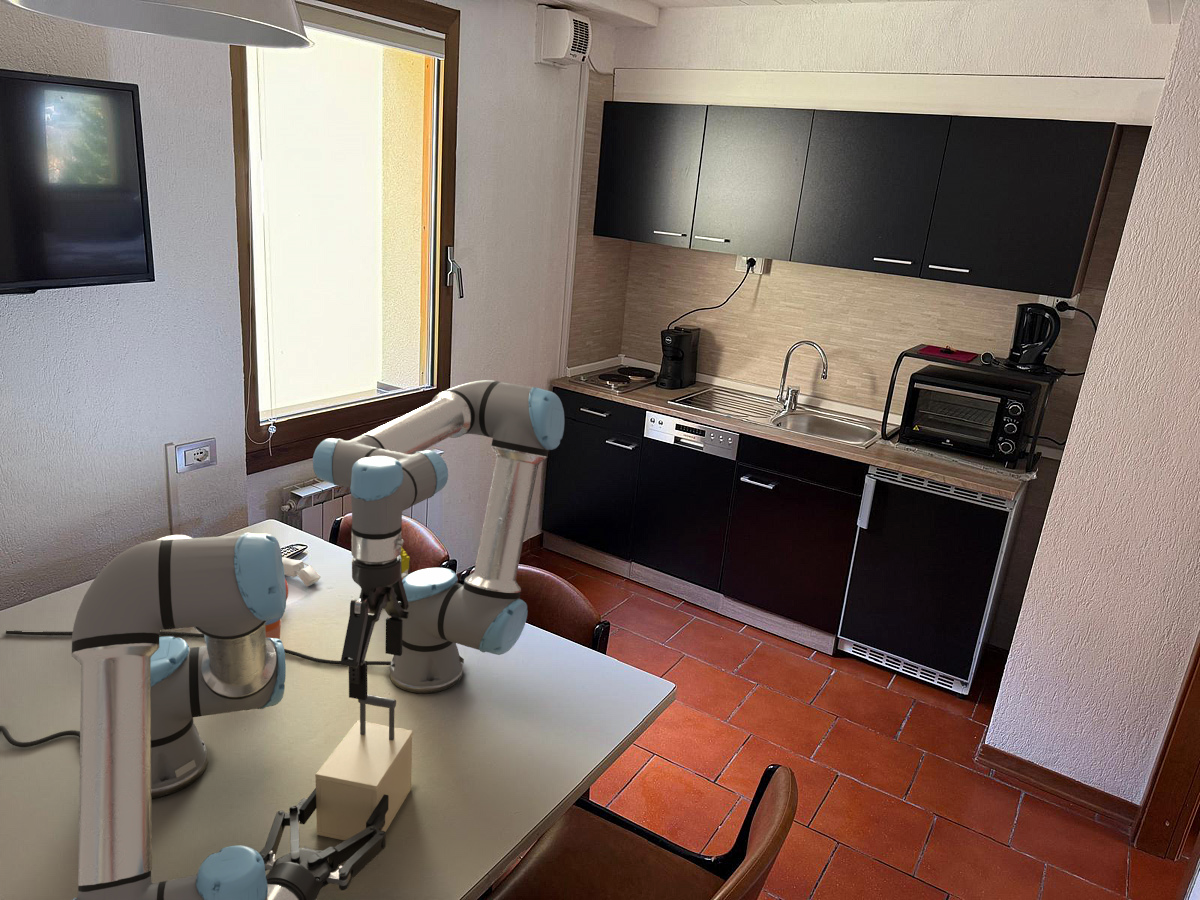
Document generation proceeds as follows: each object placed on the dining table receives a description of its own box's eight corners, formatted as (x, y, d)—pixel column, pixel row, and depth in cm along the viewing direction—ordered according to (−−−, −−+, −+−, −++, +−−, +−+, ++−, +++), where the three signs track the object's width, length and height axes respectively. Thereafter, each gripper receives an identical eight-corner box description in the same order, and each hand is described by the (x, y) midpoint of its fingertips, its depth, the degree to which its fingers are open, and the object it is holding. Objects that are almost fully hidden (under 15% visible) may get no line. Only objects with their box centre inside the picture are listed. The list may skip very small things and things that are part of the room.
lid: (357, 724, 147) (357, 681, 145) (413, 734, 145) (414, 691, 143) (315, 778, 133) (314, 732, 131) (376, 790, 132) (376, 744, 129)
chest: (356, 778, 150) (356, 725, 147) (411, 789, 148) (412, 736, 145) (316, 834, 136) (315, 778, 133) (376, 847, 135) (376, 790, 132)
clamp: (253, 565, 223) (254, 542, 221) (265, 560, 226) (266, 537, 224) (309, 593, 215) (310, 569, 213) (320, 588, 218) (321, 564, 216)
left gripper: (205, 908, 118) (289, 801, 139) (359, 943, 115) (421, 828, 136) (201, 864, 116) (287, 762, 137) (358, 899, 113) (422, 789, 133)
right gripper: (364, 594, 121) (364, 722, 127) (429, 529, 144) (427, 640, 151) (314, 586, 122) (317, 714, 128) (387, 523, 145) (386, 634, 152)
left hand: (354, 795), depth 136 cm, fingers closed on chest, 10 cm apart
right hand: (376, 674), depth 139 cm, fingers open, 13 cm apart
